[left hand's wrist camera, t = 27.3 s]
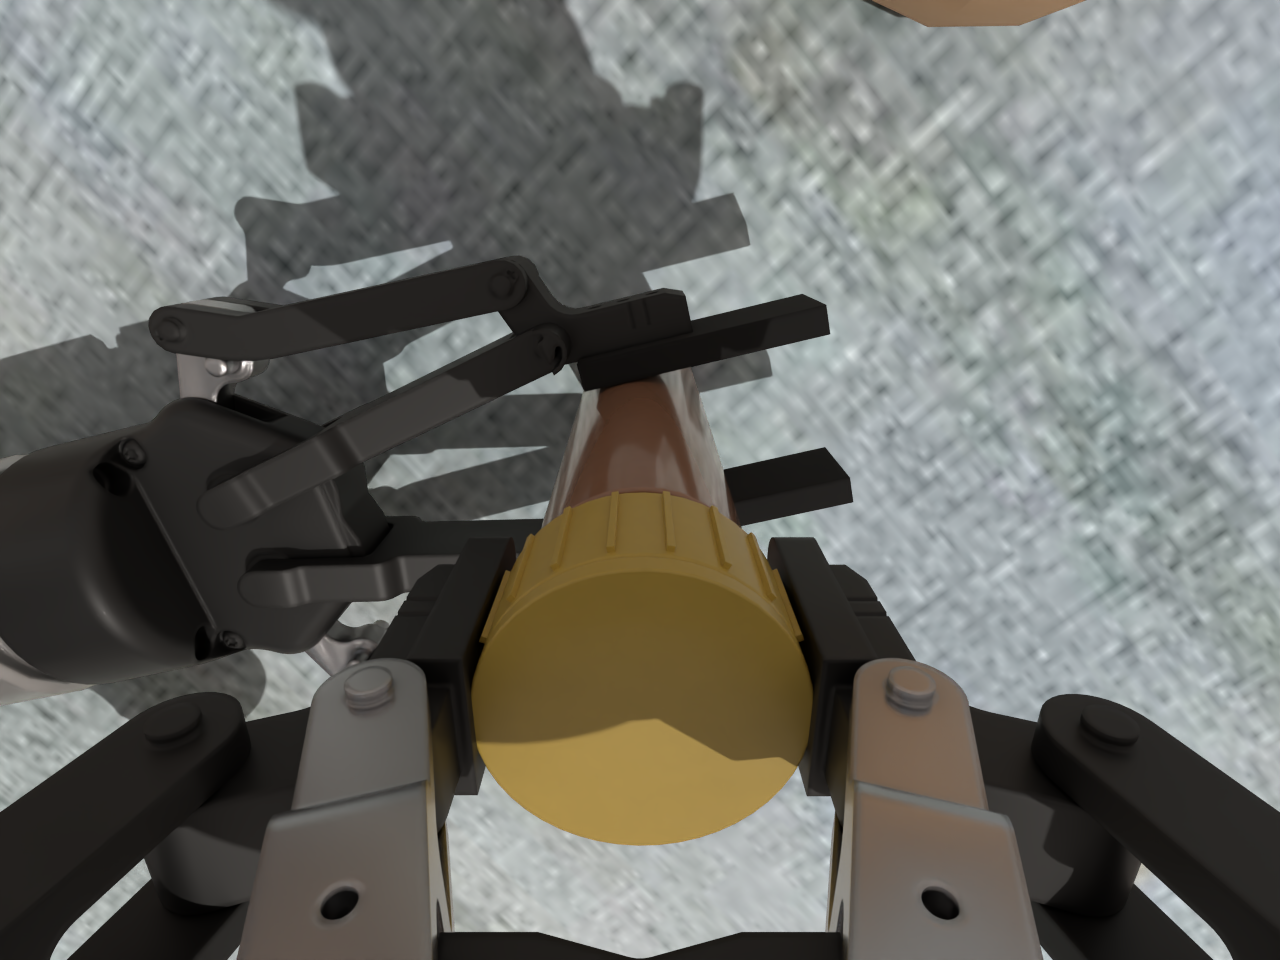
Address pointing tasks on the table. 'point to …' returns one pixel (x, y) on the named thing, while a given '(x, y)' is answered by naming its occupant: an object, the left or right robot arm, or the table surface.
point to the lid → (641, 673)
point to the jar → (642, 446)
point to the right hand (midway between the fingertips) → (825, 396)
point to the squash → (975, 11)
